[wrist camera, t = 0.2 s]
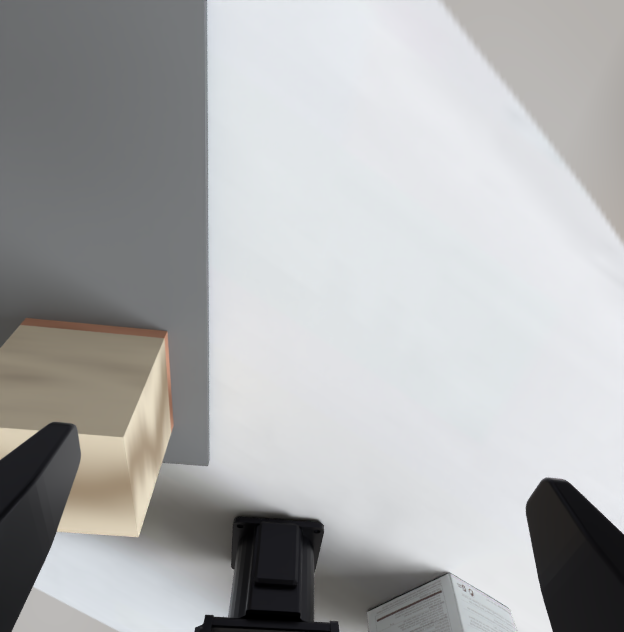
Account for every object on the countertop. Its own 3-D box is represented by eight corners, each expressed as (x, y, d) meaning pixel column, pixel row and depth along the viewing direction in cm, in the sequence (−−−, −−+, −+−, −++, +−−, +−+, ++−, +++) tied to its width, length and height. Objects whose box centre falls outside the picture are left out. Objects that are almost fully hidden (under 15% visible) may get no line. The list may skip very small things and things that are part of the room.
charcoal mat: (209, 459, 31) (207, 466, 31) (33, 446, 31) (29, 452, 30) (207, -1, 17) (204, 0, 17) (-122, -46, 16) (-132, -46, 16)
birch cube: (173, 425, 29) (138, 537, 23) (51, 415, 28) (-15, 527, 23) (167, 331, 25) (123, 437, 19) (25, 317, 24) (-63, 422, 19)
